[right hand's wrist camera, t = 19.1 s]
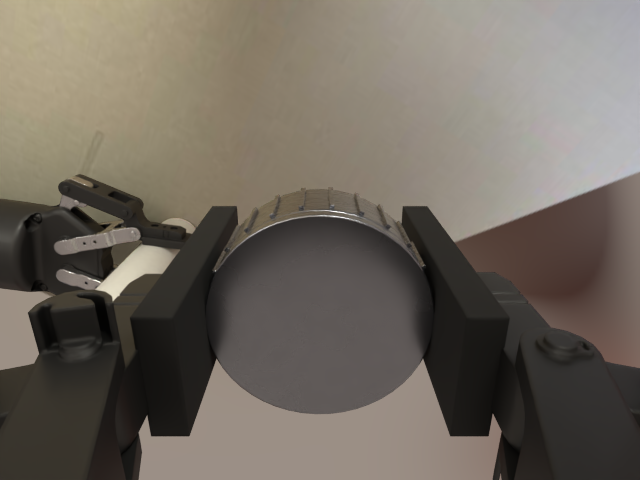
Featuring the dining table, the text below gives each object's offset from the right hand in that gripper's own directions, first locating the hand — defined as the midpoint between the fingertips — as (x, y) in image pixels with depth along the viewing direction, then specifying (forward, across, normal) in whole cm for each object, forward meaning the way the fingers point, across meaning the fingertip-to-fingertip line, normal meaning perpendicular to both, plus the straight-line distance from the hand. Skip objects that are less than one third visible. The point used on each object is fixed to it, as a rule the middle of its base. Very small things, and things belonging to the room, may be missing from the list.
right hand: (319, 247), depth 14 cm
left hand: (+22, +12, +11) cm, 27 cm away
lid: (-4, 0, 0) cm, 4 cm away
